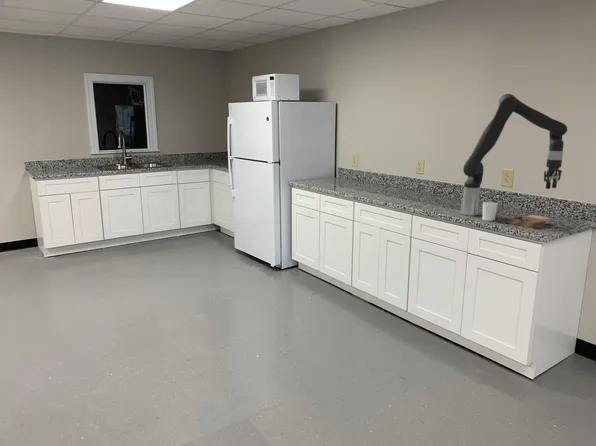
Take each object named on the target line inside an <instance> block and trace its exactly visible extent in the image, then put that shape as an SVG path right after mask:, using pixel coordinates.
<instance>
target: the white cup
mask: <svg viewBox="0 0 596 446" xmlns="http://www.w3.org/2000/svg"><path fill="white" fill-rule="evenodd" d="M497 209H498V203H497V202H493V201H484V202H483V201H482V220H483V221H486V222H487V221H488V222H493V220H494V221H495V220H496V215H497Z"/></svg>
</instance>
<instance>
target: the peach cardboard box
mask: <svg viewBox="0 0 596 446" xmlns="http://www.w3.org/2000/svg"><path fill="white" fill-rule="evenodd" d="M550 219H551V218H549V217H545V216H541V215H537V214H536V215H534V214H532V215H526V216H525V219H524V221H527V222H532V223H536V222H541V221H546V223H545V225H549V224H550Z"/></svg>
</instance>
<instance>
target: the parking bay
mask: <svg viewBox="0 0 596 446" xmlns="http://www.w3.org/2000/svg"><path fill="white" fill-rule="evenodd" d="M545 223H546V221H541V222H536V223H532V222H527V221H525V220H523V216H514V217H510V218H509V220H508V224H509V225H510V224H511V225H514V224H515V225H514V226H519V225H520V226H519V227H523V226H524V227H523V228H528V227H529V228H530V229H533V228H535V229H539V228H540V229H541V228H544V227H546V224H545Z"/></svg>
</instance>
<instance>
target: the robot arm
mask: <svg viewBox="0 0 596 446" xmlns="http://www.w3.org/2000/svg"><path fill="white" fill-rule="evenodd" d="M513 113H515V114H518V115H519V116H521V117H522V118H524V119H525V120H526V121H529V122H530V123H531V124H533V125H535V126H537V127H538V128H541V129H543V130H547V131H548V132H549V133H548V134H549V147H548V152H547V158H546V168H547V170H544V171H543V181H544V182H545V190H549V189H551V188H552V189H556V188H557V183H558V182H559V181H560V180H561V177H562V172H563V170H561V169H560V168H562V163H563V156H564V155H563V153H564V146H565V145H564V141H563V136H564V135H566V133H567V132H568V126H567V125H566V124H565V123H563V122H562V121H560V120H558V119H554V118H552V117H550V116H548V115H546V114H544V113H543V112H541V111H539V110H537V109H534V108H532V107H530V106H529V105H527V104H526V103H524V102H522V101H521V100H519V99H518V97H516V96H515V95H514V94H511V93H506V94H503V95H502V96H501V97H500V98H499V100H498V107H497V110H496V112H495V114H494V116H493V118H492V119H491V121H490V122H489V123H488V124H487V126H486V127H485V129H484V130H483V132H482V134H481V135H480V138H479V139H478V142H477V144H476V145H475V147H474V149H473V151H472V153H471V155H470V156H469V157H468V159H467V160H466V162H465V163H464V165H463V170H462V171H463V174H464V175H465V176H467V178H466V180H465V182H464V183H463V184H464V185H463V196H462V198H461V201H460V214H462V215H465V216H477V215H478V214H479V213H478V211H479V204H480V203H479V200H480V191H481V185H482V182H483V178H484V177H483V176H484V165H483V162H482V161H483V159H484V158H485V156H486V155H487V154H488V153H489V152H490V151H491V150H492V149H493V148H494V146H495V145H496V143H497V142H498V139H499V138H500V136H501V134H502V131H503V130H504V128H505V126H506V123H507V121H508V120H509V118H511V115H512V114H513ZM551 183H552V184H551Z"/></svg>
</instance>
